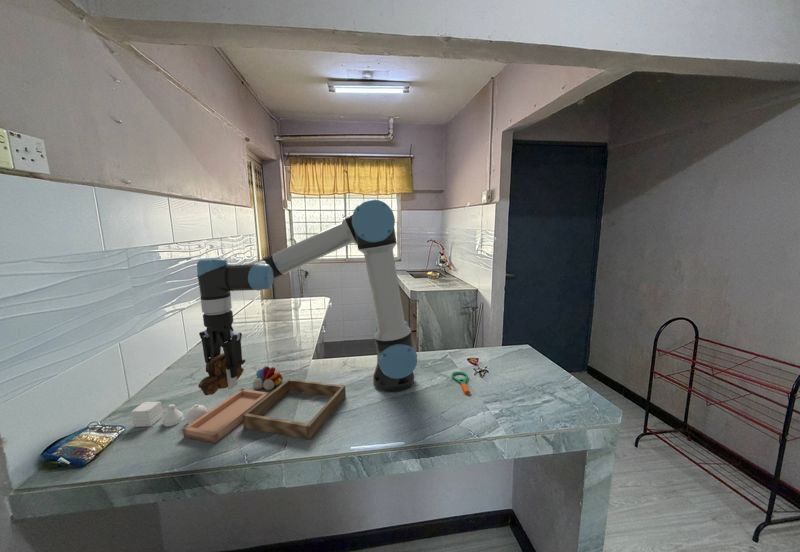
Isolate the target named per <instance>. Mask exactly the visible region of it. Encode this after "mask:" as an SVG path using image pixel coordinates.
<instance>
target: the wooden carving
mask: <svg viewBox="0 0 800 552" xmlns="http://www.w3.org/2000/svg"><path fill="white" fill-rule="evenodd" d="M245 362H246V359H242V364H240V365H238V366H237V374H238V375H237V376H236V377H237V381H238V380H239V379H240V377H241V376H242V375H243V373H244V370H245V369H244V368H243V367H242V365H244V364H245ZM232 363H233V362H232ZM227 367H228V365H227V361H226V358H225V354H224V352H223V353H220V354H219V355H217V356H215V357H214V358H213V359H212V360H211V361H210V362H209V363H207V364H206V363H205V372H206V373H207V374H208V376H205V377H204V378H202V379H201V380H200V382H199V384H198V385H197V386H198V388H199V389H200V390H201V391H202V393H203V395H204V396H212V395H214V394H216V392H217V391H219V390H221V389H223V390H224V389H227V388H228V382H227V373H226V368H227Z"/></svg>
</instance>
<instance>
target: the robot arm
mask: <svg viewBox="0 0 800 552" xmlns="http://www.w3.org/2000/svg"><path fill="white" fill-rule="evenodd" d="M395 220H396V219H395V215H394V211H393V210H392V209H391V207H390V205H388V204H387V203H386V202H384V201H382V200H380V199H376V198H375V199H374V198H373V199H367V200H364V201H362V202H360V203H359V204H358V205H357V206H356V207H355V209H353V212H352V213H351V214H349V215H347V216H345V217H343V220H342V222H338V223H337V224H334V225H333V226H330V227H328V228H326V229H325V230H322V231H320V232H318V233H316V234H313V235H311V236H309V237H306V238H304V239H303V240H300V241H298V242H297V243H293V244H292V245H290V246H288V247H285V248H284V249H281V250H279V251H276V252H275V253H273V254H271V255H268V256H266V257H264V258H262V259H260V260H257V261H254V262H251V263H247V264H229V263H228V260H227V259H226V258H223V257H212V258H210V257H209V258H203V259H199V260H198V261H197V263H196V269H197V274H196V277H197V280H198V286H199V293H200V294H199V295H200V304H201V305H200V307H201V313H203V314H202V318H203V319H202V320H203V326H204V327H205V328H206V329H205V330H202V331H200V332H198V333H199V334H198V335H199V338H200V339H201V344H202V350H203V356H204V358H203V359H204V362H205V365H206V364H207V363H209V362H210V361H211V360H212V359H213V358H214V357H215V356H217V355H219V354H221V352H222V351H221V350H223V353H224V354H225V358H226V361H227V365H228V367H227V368H226V373H227V382H228V387H227V388H228V390H232V389H233V388H235V387H236V386H238V380H237V377H236V376H237V375H238V374H237V366H238V365H240V364H242V360H243V353H242V352H243V351H242V337H243V333H242V332H236V331H235V330H234V328H233V326H232V325H233V323H234V313H233V310H232V307H233V306H232V305H233V304H232V298H231V297H232V294H231V292H237V291H239V292H240V291H257V292H259V291H264V290H269V289H271V288H272V286H273V283H274V280H275V279H277V278H280V277H282V276H283V275H285V274H288V273H290V272H293V271H295V270H296V269H299V268H301V267H303V266H305V265H307V264H309V263H311V262H314V261H316V260H318V259H321V258H323V257H324V256H327V255H329V254H331V253H334V252H336V251H337V250H340V249H343V248H344V247H346V246H348V245H351V244H355V245H356V246H357V250H358V251H359V252H361V253H362V254H363V255H364V259H365V261H364V262H365V265H366V272H367V277H368V282H369V287H370V293H371V298H372V299H371V300H372V303H373V309H374V314H375V319H376V320H375V321H376V325H375V333H374V340H375V341H374V342H375V346H376V358H377V359H376V360H377V362H376V366H375V370H374V373H373V375H372V376H373V379H372V382H373V386H374V387H375V388H376V389H378V390H380V392H381V391H383V392H386V393H399V392H403V391H407V390H409V389H410V388H412V387H413V386H414V384H415V374H414V371H415V369H416V367H417V366H418V365H417V364H418V354H417V352H416V350H415V347H414V341H413V340H414V339H413V334H412V329H411V327H409V323H408V322H407V321H406V320H405V315H404V310H403V304H402V298H401V297H402V296H401V291H400V285H399V279H398V273H397V268H396V261H395V255H394V251H393V250H394V248H395V247H396V246H397V244H398V242H397V238H396V237H397V236H396V231H395V222H396V221H395ZM232 362H233V363H232ZM242 365H243V364H242Z"/></svg>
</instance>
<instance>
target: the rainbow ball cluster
mask: <svg viewBox="0 0 800 552" xmlns="http://www.w3.org/2000/svg"><path fill="white" fill-rule="evenodd" d="M255 375H256V377H255V379H254V380H253V382H252V386H253V388H255V390H261V389H263V388H264V389H265V390H266V391H271V390H274V388H275V386H278V385H281V384H282V383H281V382H283V379H284V375H283V373H282V372H280V371H277V372H276V368H275V367H274V366H272V367H270V366H263V367H262V369H258V370H257V371H256V374H255Z"/></svg>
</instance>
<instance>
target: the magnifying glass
mask: <svg viewBox="0 0 800 552" xmlns="http://www.w3.org/2000/svg"><path fill="white" fill-rule="evenodd" d="M457 375H461V376H464V378H456V377H455V376H457ZM451 379H452V380H453V381H455V382H456V383H457V384H459V385H460V386H461V389H462V391H463V394H464V395H470V394H471V391H470V389H469V387H468V385H467V382H468V380H469V375H468V374H467V373H466V372H464V371H454V372H452V373H451Z"/></svg>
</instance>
